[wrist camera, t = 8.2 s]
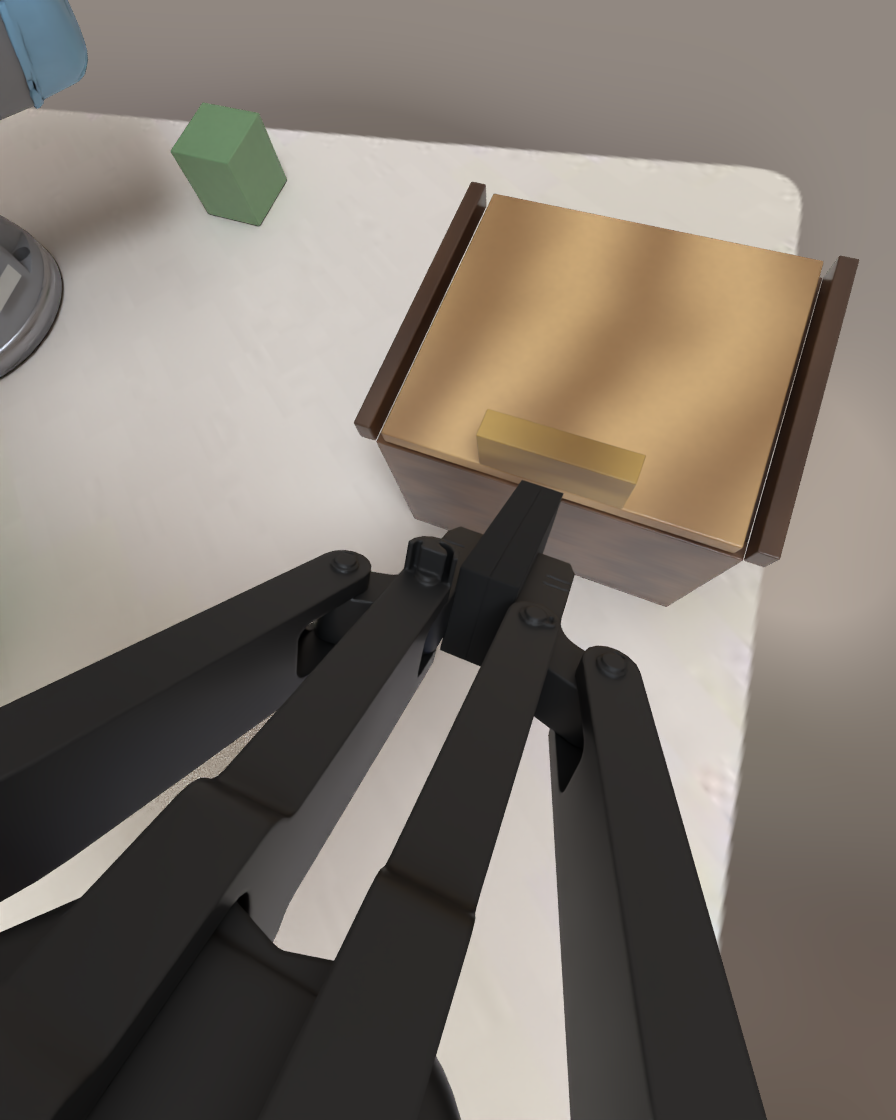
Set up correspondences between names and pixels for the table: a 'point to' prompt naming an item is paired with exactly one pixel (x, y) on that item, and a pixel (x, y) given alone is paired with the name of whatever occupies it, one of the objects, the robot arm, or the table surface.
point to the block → (230, 163)
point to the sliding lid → (612, 365)
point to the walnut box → (581, 531)
